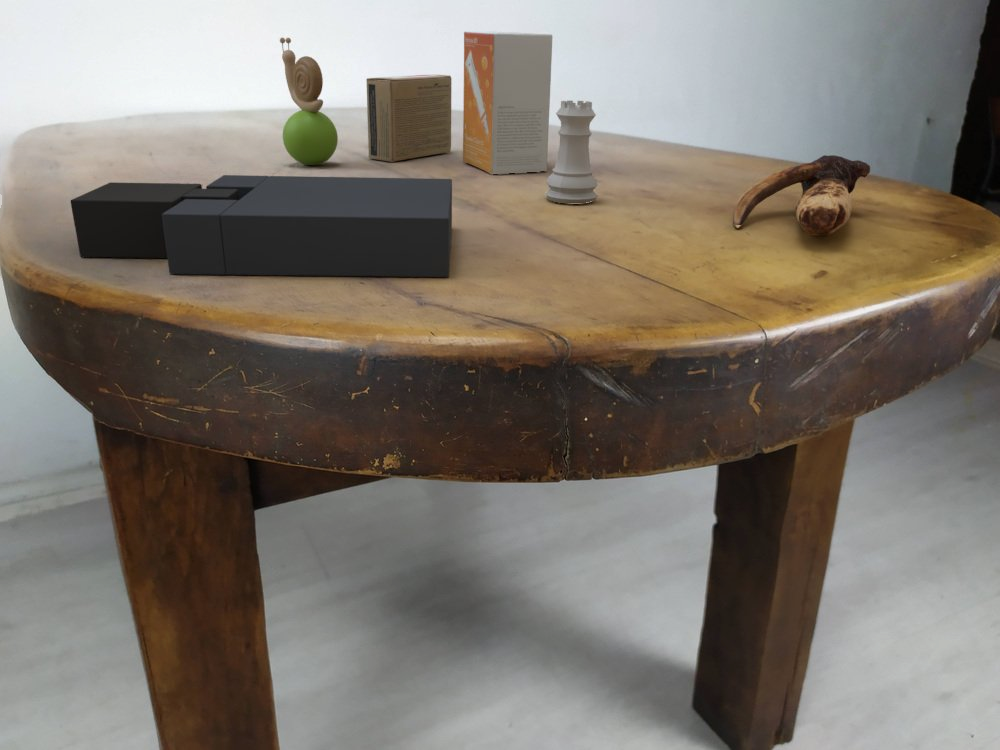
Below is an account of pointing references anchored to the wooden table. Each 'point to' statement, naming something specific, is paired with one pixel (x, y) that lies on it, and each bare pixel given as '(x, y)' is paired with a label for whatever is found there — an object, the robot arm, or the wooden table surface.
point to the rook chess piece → (573, 156)
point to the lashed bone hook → (811, 193)
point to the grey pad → (314, 228)
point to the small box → (506, 101)
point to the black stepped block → (132, 217)
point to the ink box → (408, 116)
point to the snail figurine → (307, 112)
